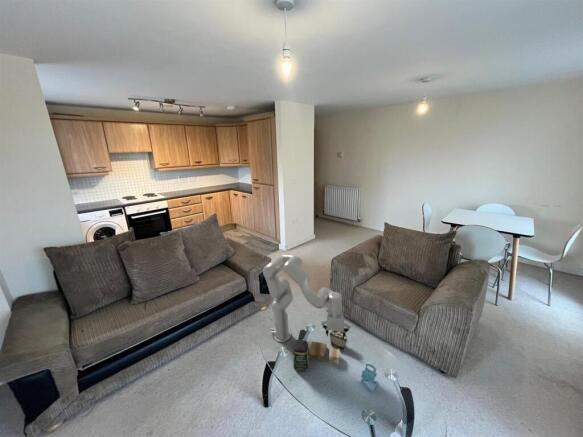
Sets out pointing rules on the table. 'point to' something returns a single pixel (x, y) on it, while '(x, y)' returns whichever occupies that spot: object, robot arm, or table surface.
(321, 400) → the table surface
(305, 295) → the robot arm
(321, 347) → the pedestal
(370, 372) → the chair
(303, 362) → the coffee jar
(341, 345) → the food container
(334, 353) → the beech cube
